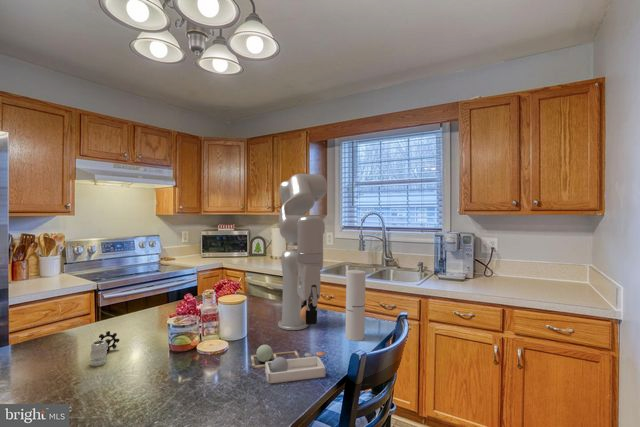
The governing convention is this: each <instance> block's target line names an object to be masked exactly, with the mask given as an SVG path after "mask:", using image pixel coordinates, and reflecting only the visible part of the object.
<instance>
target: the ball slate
mask: <svg viewBox="0 0 640 427" xmlns="http://www.w3.org/2000/svg"><path fill="white" fill-rule="evenodd" d="M276 357H277V358H275V359H274V358H273V360H271V361H272V363H271V371H272V373H275V372H284V371H287V370H288V362H287V359H286V358H284V357H283V356H276Z"/></svg>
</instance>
